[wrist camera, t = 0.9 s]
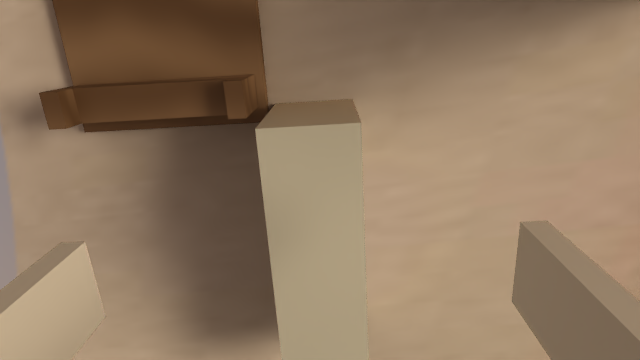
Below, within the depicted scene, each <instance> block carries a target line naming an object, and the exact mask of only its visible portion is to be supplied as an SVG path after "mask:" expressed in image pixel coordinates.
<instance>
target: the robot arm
mask: <svg viewBox="0 0 640 360" xmlns="http://www.w3.org/2000/svg"><path fill="white" fill-rule="evenodd" d="M512 302H513V304H514V305H515V307H516V308H517V310H518V311H519V313H520V314H521V316H522V317H523V319H524V320H525V322H526V323H527V325H528V326H529V327H530V329H531V330H532V332H533V333H534V335H535V336H536V338H537V339H538V341H539V342H540V344H541V345H542V347H543V348H544V350H545V351H546V353H547V354H548V356H549V357H550V359H551V360H640V301H639V300H637V299H636V298H635V297H634V296H633V295H632V294H631V293H629V292H628V291H627V290H626V289H625V288H624V287H623V286H621V285H620V284H619V283H618V282H617V281H616V280H614V279H613V278H612V277H611V276H610V275H609V274H608V273H606V272H605V271H604V270H603V269H602V268H601V267H600V266H598V265H597V264H596V263H595V262H594V261H593V260H591V259H590V258H589V257H588V256H587V255H586V254H585V253H583V252H582V251H581V250H580V249H579V248H578V247H576V246H575V245H574V244H573V243H572V242H571V241H570V240H568V239H567V238H566V237H565V236H564V235H563V234H562V233H560V232H559V231H558V230H557V229H556V228H555V227H553V226H552V225H551V224H550V223H549V222H548V221H531V222H520V230H519V239H518V248H517V257H516V267H515V276H514V285H513V294H512ZM105 317H106V315H105V312H104V308H103V304H102V301H101V297H100V294H99V290H98V286H97V283H96V279H95V276H94V272H93V268H92V265H91V261H90V258H89V254H88V250H87V247H86V243H85V242H66V243H60V244H59V245H57V246H56V247H55V248H53V249H52V250H51V251H50V252H48V253H47V254H46V255H45V256H43V257H42V258H41V259H39V260H38V261H37V262H36V263H34V264H33V265H32V266H30V267H29V268H28V269H27V270H25V271H24V272H23V273H22V274H20V275H19V276H18V277H16V278H15V279H14V280H13V281H11V282H10V283H9V284H8V285H6V286H5V287H4V288H2V289H1V290H0V360H72V359H73V358H74V356H75V355H76V354H77V352H78V351H79V350H80V349H81V347H82V346H83V345H84V344H85V342H86V341H87V340H88V339H89V337H90V336H91V335H92V333H93V332H94V331H95V330H96V328H97V327H98V326H99V325H100V323H101V322H102V321H103V319H104V318H105Z"/></svg>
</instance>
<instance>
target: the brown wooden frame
mask: <svg viewBox="0 0 640 360" xmlns="http://www.w3.org/2000/svg"><path fill="white" fill-rule="evenodd" d="M52 1H53V5H54V9H55V13H56V17H57V21H58V25H59V30H60V34H61V38H62V42H63V46H64V50H65V54H66V58H67V62H68V66H69V70H70V74H71V78H72V82H73V86H72V87H67V88H62V89H57V90H51V91H46V92H41V93H39V95H40V98H41V102H42V106H43V109H44V113H45V117H46V120H47V124H48V128H49V130H50V129H67V128H70V127H72V126H75V125H78V124H82V123H83V127H84V131H85V132H97V131H115V130H133V129H150V128H168V127H185V126H203V125H220V124H238V123H256V122H261V121H262V120H263V119H264V117H265V116H266V115H267V114H268V112H269V108H268V99H267V89H266V79H265V69H264V59H263V49H262V39H261V29H260V19H259V10H258V0H52Z"/></svg>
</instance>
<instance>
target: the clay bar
mask: <svg viewBox="0 0 640 360" xmlns="http://www.w3.org/2000/svg"><path fill="white" fill-rule="evenodd" d="M255 132H256V141H257V150H258V159H259V167H260V176H261V185H262V193H263V202H264V211H265V219H266V228H267V237H268V245H269V254H270V263H271V271H272V280H273V289H274V297H275V306H276V315H277V323H278V332H279V341H280V349H281V358H282V360H369V350H368V318H367V287H366V256H365V224H364V193H363V162H362V131H361V121H360V118H359V115H358V112H357V110H356V107H355V104H354V102H353V99H345V100H328V101H312V102H295V103H279V104H275V105H274V106H273V107H272V109H271V110H270V111H269V112H268V114H267V115H266V116H265V117H264V119H263V120H262V121H261V122H260V123H259V125H258V126H257V127H256V128H255Z"/></svg>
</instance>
